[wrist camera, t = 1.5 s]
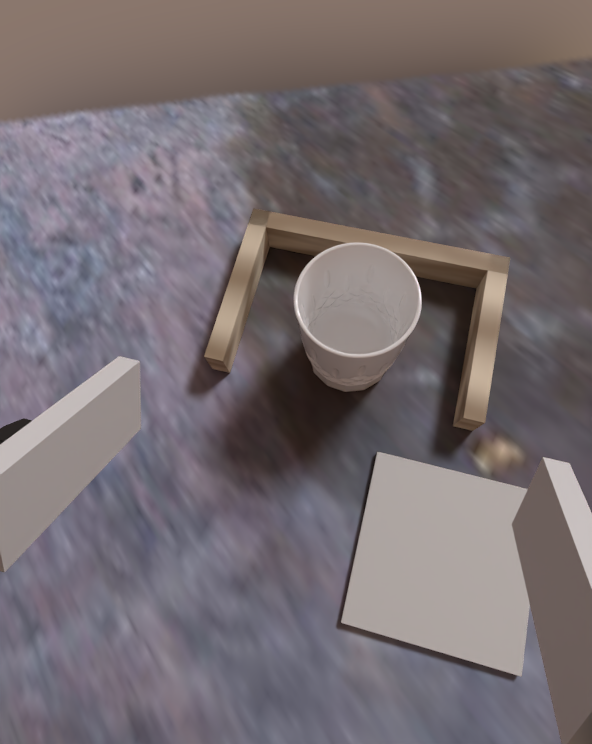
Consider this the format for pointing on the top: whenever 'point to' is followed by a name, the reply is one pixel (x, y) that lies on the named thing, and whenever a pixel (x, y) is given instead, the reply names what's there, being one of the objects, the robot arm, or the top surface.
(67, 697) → the top surface
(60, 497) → the robot arm
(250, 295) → the frame
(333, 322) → the white cup
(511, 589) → the mat
